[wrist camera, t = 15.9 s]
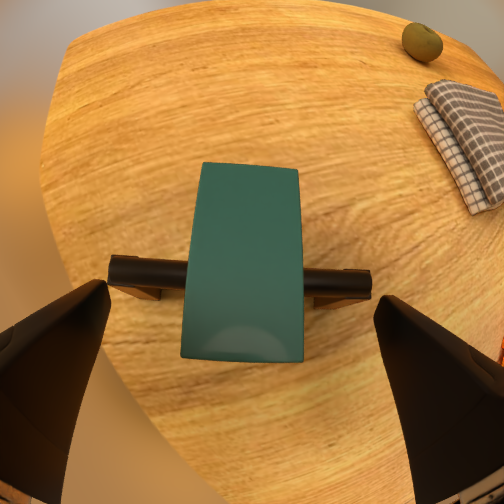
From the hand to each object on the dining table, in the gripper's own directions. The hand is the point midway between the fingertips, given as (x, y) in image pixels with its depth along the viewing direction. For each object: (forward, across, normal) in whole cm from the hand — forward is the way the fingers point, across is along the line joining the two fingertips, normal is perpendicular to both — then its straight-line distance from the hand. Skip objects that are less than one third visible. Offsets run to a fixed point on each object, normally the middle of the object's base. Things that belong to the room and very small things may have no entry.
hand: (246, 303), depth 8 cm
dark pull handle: (+8, 0, +6) cm, 10 cm away
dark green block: (+8, 0, +6) cm, 9 cm away
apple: (+38, -29, -24) cm, 53 cm away
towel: (+21, -29, -7) cm, 37 cm away
